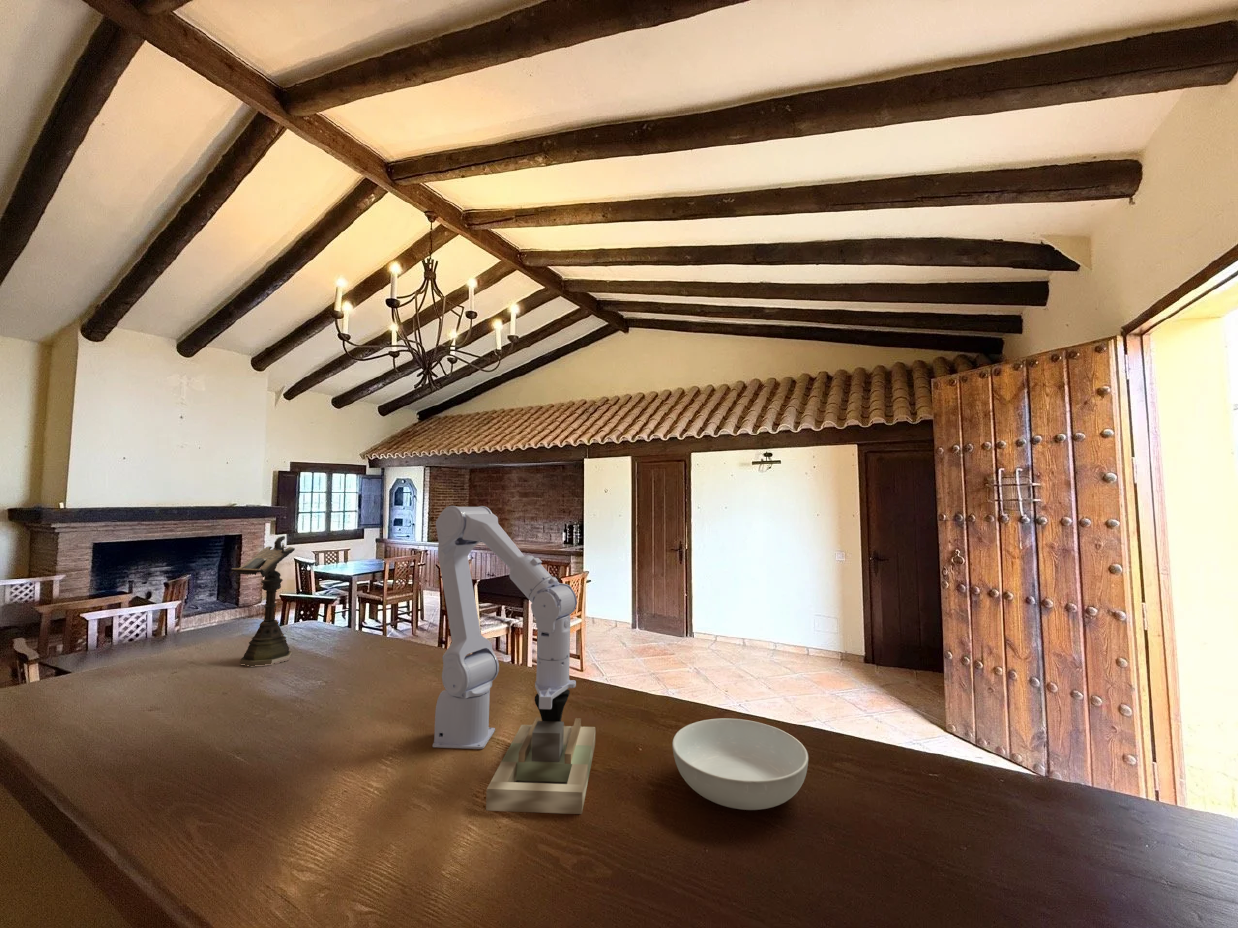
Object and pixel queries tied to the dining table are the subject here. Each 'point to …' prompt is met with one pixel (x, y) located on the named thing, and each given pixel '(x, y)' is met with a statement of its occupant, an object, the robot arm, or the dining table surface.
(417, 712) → the dining table surface
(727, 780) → the serving bowl
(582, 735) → the railed deck
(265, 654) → the lectern
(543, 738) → the charcoal block
